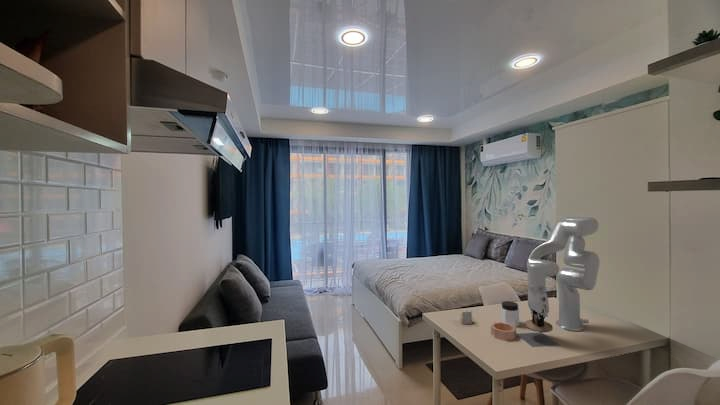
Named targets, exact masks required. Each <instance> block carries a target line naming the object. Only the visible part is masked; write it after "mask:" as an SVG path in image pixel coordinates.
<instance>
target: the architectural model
mask: <svg viewBox="0 0 720 405" xmlns="http://www.w3.org/2000/svg"><path fill="white" fill-rule="evenodd" d="M472 313H473V312H472V311H468V310H465V311H462V312H461V315H460V316H459V318H460V324H461V325H472V324H473V323H472V322H473V319H474V317H473V314H472Z"/></svg>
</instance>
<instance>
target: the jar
mask: <svg viewBox="0 0 720 405" xmlns="http://www.w3.org/2000/svg"><path fill="white" fill-rule="evenodd" d="M500 318H501V320H500V322H503V323H507V324H511V325H513V326H514V327H515V328H517V327H519V326H520V309H519V304H518V303H517V302H514V301H511V300H509V301H508V300H504V301H502V302H501V307H500Z"/></svg>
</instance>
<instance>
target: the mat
mask: <svg viewBox="0 0 720 405" xmlns="http://www.w3.org/2000/svg"><path fill="white" fill-rule="evenodd" d="M516 336H518V337H519V338H520V339H522V340H523V341H524V342H526V343H527V344H528V345H529V346H530V347H532V348H537V347H538V348H540V347H554V346H555V347H556V346H561V344H560V343H558V342H557V341H556V340H554V339H552V338H551V337H549V336H548V335H547V334H545V333H544V332H524V333H523V332H522V333H521V332H520V333H516Z"/></svg>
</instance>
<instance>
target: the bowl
mask: <svg viewBox="0 0 720 405" xmlns="http://www.w3.org/2000/svg"><path fill="white" fill-rule="evenodd" d="M516 334H517V327H514V326H513V325H511V324H507V323H503V322H501V321H499V322H493V323H492V324H491V325H490V335H491V336H492V337H493V338H494V339H497V340H501V341H504V342H505V341H507V342H509V341H515V340H516V338H517V335H516Z"/></svg>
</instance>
